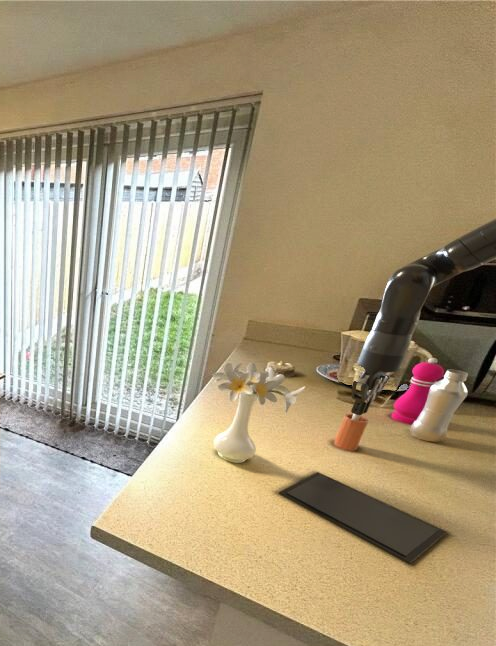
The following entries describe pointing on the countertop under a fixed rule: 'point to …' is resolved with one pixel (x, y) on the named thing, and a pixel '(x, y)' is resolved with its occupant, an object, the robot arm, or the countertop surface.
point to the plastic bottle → (440, 406)
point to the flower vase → (247, 407)
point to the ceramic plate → (332, 372)
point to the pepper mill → (417, 391)
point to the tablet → (365, 516)
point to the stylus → (356, 417)
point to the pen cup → (350, 432)
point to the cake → (281, 368)
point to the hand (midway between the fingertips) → (358, 412)
